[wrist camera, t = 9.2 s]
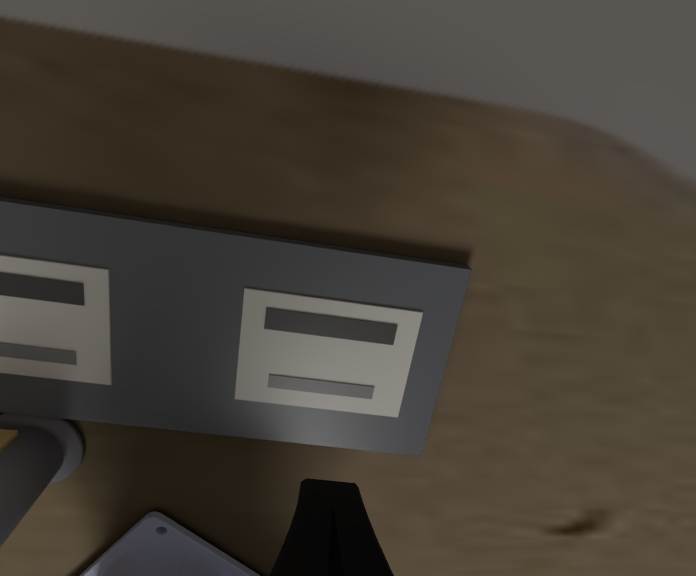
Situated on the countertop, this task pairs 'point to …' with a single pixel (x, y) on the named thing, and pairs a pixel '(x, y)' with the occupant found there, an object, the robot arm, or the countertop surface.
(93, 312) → the label plate
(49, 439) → the bar
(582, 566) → the countertop surface
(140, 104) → the countertop surface
